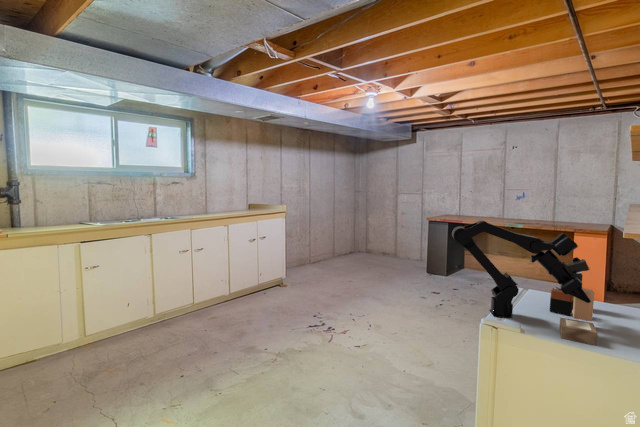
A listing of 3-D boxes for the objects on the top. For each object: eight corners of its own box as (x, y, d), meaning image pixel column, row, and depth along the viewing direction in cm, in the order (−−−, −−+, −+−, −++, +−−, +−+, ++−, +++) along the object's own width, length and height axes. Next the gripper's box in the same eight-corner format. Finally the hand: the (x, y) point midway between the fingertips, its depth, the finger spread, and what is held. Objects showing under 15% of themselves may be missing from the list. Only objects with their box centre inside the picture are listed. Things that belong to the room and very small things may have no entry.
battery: (570, 316, 131) (572, 290, 130) (549, 311, 136) (551, 287, 135) (572, 313, 135) (574, 288, 134) (551, 309, 139) (553, 284, 138)
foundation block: (561, 338, 112) (562, 326, 112) (559, 328, 120) (560, 317, 120) (596, 345, 108) (597, 332, 107) (592, 334, 115) (593, 323, 115)
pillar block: (573, 318, 121) (576, 290, 120) (572, 313, 125) (574, 287, 125) (591, 321, 119) (594, 293, 118) (589, 316, 123) (592, 289, 122)
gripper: (576, 255, 114) (616, 294, 109) (571, 247, 130) (606, 280, 125) (546, 275, 119) (583, 313, 114) (544, 264, 135) (577, 297, 130)
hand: (588, 300), depth 121 cm, fingers closed on pillar block, 5 cm apart
